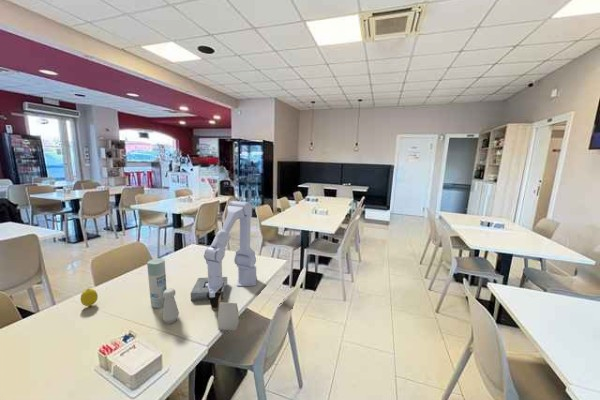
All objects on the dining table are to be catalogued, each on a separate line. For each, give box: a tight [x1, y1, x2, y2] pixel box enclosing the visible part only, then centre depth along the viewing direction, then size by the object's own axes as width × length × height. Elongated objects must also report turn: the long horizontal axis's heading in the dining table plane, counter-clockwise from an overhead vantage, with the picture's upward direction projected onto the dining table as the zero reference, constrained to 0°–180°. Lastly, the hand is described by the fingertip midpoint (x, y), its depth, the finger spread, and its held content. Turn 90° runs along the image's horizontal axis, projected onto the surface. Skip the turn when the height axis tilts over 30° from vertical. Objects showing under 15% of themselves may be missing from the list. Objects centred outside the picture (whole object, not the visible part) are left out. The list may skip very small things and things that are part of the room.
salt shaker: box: [162, 288, 180, 324], centre depth 99 cm, size 6×6×13 cm
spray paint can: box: [146, 257, 168, 309], centre depth 109 cm, size 6×6×20 cm
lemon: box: [80, 288, 99, 307], centre depth 107 cm, size 6×6×8 cm
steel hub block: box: [190, 276, 228, 302], centre depth 121 cm, size 14×14×4 cm
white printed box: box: [217, 301, 239, 331], centre depth 97 cm, size 4×7×10 cm, turn 88°
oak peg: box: [210, 291, 222, 311], centre depth 109 cm, size 4×4×7 cm
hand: (216, 303), depth 109 cm, fingers open, 5 cm apart
